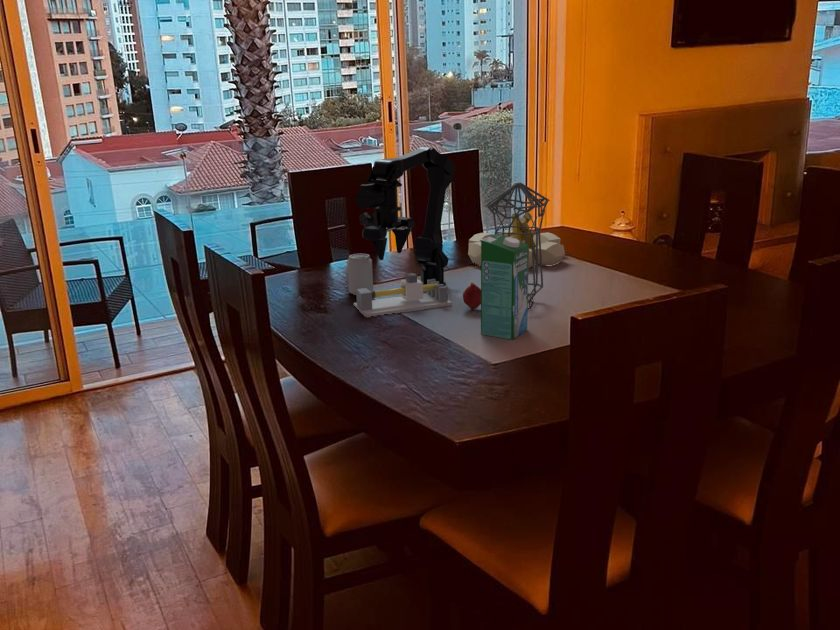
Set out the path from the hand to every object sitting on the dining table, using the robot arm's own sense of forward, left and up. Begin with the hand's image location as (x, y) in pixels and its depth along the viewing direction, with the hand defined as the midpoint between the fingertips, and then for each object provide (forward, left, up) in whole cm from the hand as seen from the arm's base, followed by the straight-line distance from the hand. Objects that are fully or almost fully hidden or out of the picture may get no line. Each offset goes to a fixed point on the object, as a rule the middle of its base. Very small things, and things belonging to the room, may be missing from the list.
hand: (390, 256), depth 225 cm
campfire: (-56, -27, -13) cm, 64 cm away
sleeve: (-3, +9, -11) cm, 14 cm away
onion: (-17, +21, -13) cm, 30 cm away
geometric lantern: (-31, +21, -13) cm, 40 cm away
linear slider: (0, +9, -13) cm, 15 cm away
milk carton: (-16, +42, -13) cm, 47 cm away
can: (+7, -9, -13) cm, 17 cm away
